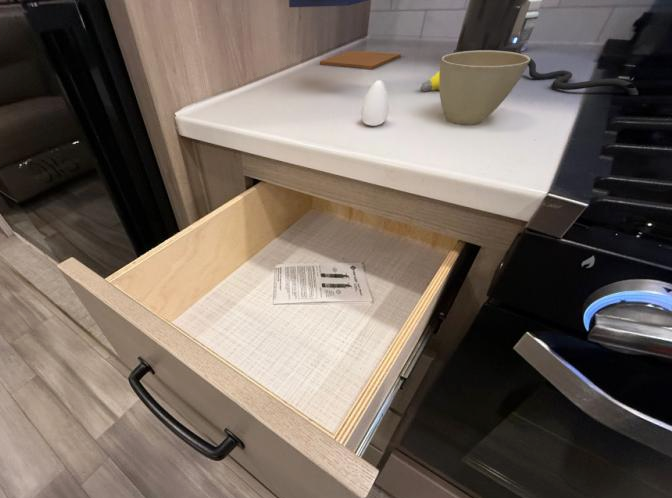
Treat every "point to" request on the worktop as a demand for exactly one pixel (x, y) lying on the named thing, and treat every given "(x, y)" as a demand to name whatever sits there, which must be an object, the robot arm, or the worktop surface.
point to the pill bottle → (529, 23)
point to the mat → (360, 59)
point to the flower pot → (477, 83)
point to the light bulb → (431, 83)
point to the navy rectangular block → (322, 3)
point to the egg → (375, 105)
